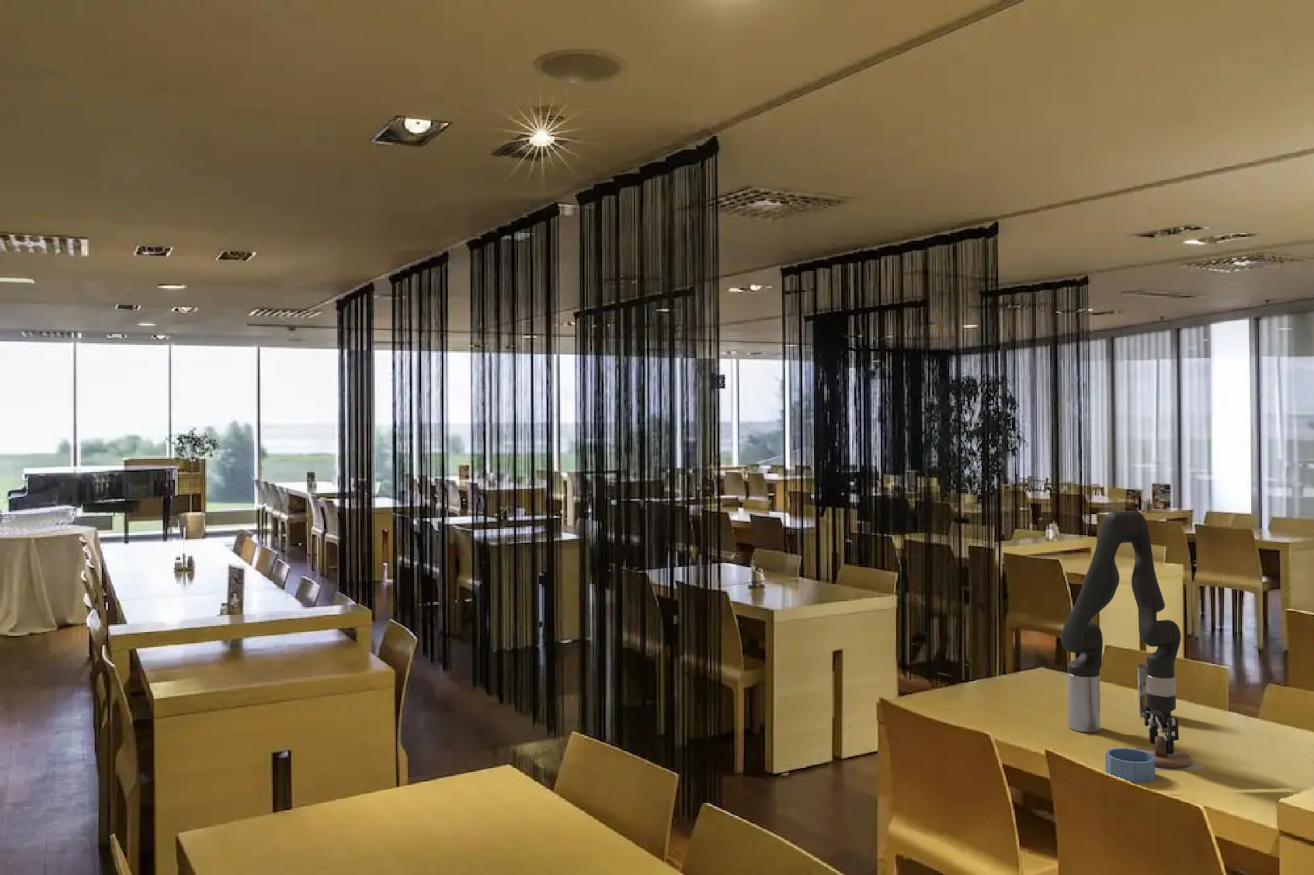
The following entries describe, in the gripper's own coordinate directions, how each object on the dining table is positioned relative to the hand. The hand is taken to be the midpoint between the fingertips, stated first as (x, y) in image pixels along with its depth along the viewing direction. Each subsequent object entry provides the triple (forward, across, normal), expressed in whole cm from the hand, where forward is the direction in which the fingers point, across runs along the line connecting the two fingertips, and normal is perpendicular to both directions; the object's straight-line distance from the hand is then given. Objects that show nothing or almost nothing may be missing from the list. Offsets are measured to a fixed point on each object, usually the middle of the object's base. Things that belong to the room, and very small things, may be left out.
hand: (1161, 748), depth 280 cm
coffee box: (+4, -44, +20) cm, 49 cm away
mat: (+4, 0, 0) cm, 4 cm away
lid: (+3, 0, 0) cm, 3 cm away
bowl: (+4, +11, -14) cm, 18 cm away
